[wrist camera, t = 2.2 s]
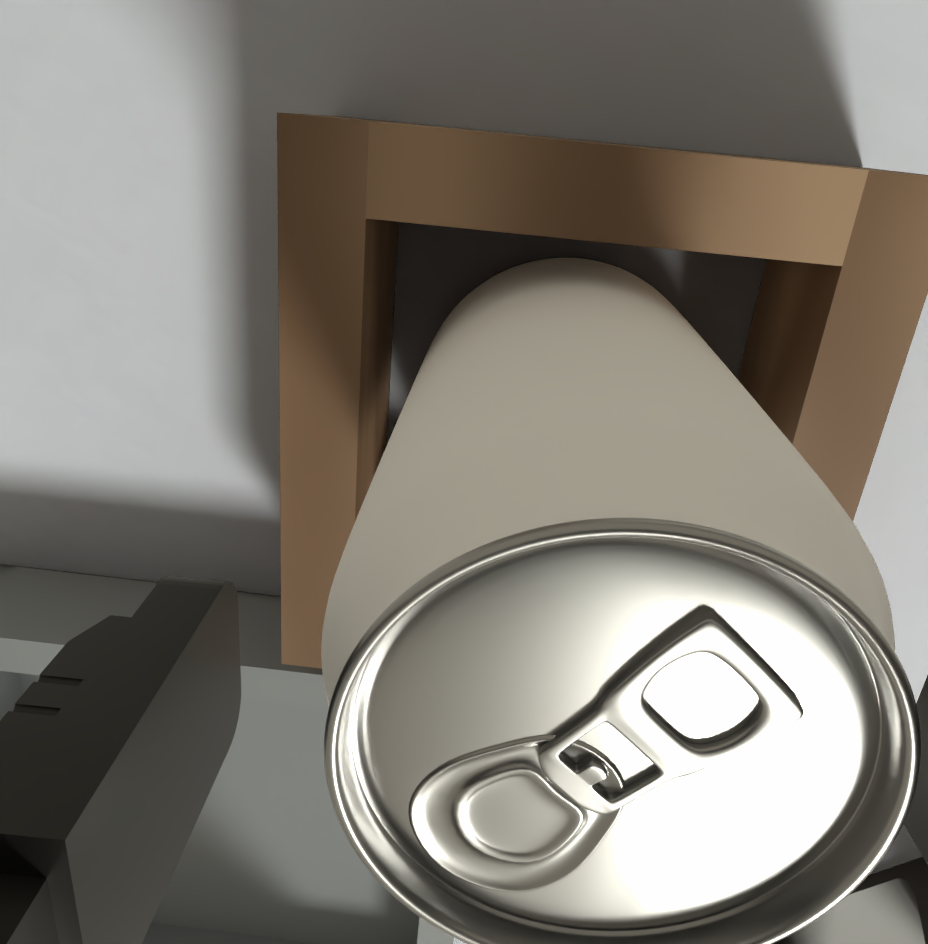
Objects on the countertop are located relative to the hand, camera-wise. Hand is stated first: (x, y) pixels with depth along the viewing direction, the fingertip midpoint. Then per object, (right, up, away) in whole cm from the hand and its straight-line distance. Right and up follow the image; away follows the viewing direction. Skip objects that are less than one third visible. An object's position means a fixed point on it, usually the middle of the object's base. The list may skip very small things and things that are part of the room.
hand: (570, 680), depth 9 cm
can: (+1, +4, +9) cm, 11 cm away
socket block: (+1, +4, +9) cm, 10 cm away
